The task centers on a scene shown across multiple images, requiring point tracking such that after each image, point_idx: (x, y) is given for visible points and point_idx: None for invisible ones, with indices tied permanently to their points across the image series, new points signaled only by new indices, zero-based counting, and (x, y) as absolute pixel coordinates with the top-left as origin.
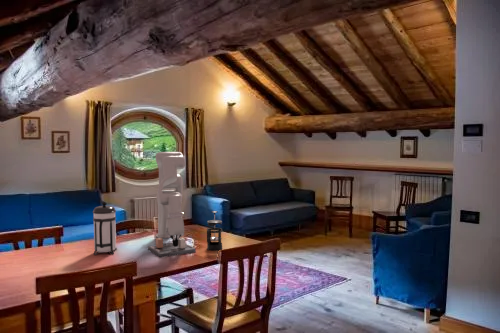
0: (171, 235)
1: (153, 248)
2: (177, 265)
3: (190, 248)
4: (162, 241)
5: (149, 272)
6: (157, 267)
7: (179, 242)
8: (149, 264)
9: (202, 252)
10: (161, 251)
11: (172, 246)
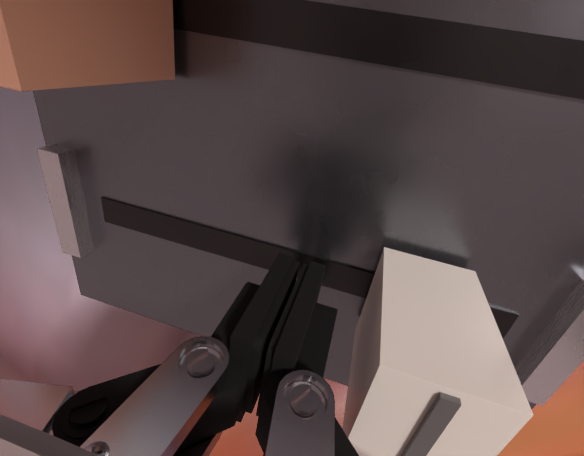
0: (102, 444)
1: None
2: None
3: None
4: (73, 84)
5: None
6: None
7: (359, 362)
8: (21, 330)
9: (529, 450)
10: (114, 227)
11: (369, 102)
